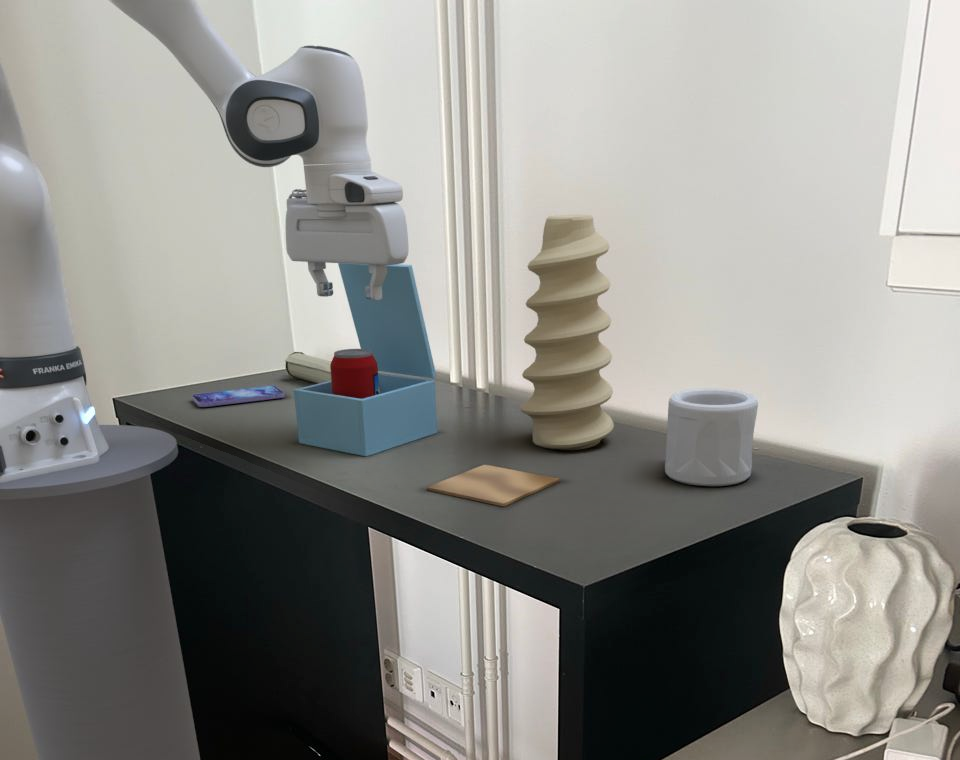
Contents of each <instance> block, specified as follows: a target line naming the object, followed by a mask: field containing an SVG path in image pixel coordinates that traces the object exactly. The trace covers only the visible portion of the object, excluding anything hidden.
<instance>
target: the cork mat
mask: <svg viewBox="0 0 960 760" xmlns="http://www.w3.org/2000/svg"><path fill="white" fill-rule="evenodd" d="M560 481H561V478H557V477H552V476H547V475H542V474H537V473H532V472H526V471H521V470H516V469H512V468H511V469H510V468H505V467H500V466H495V465H489V464H482V465H479V466H477V467H475V468H472V469H469V470H466V471H464V472H462V473H459V474H457V475H454V476H451V477H449V478H446V479H444V480H441V481H438V482H436V483H433V484H431V485H429V486H426V491H429V492H434V493H439V494H444V495H448V496H453V497H457V498H462V499H467V500H471V501H475V502H479V503H485V504H489V505H494V506H499V507H503V508H504V507H507V506H509V505H510V504H514V503H515V502H518V501H519V500H522V499H524V498H526V497H528V496H531V495H533V494H535V493H537V492H540V491H542V490H544V489H546V488H549V487H551V486H553V485H555V484H557V483H561V482H560Z"/></svg>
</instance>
